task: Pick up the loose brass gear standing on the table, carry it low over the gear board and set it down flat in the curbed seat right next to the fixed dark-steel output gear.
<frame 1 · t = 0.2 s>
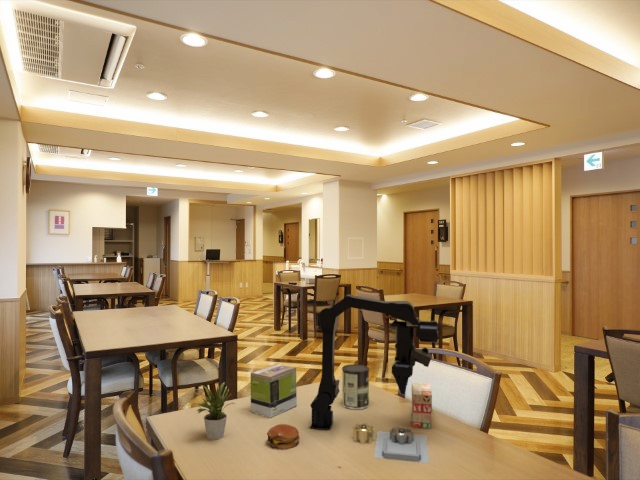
hand: (404, 389, 141), 14 cm above the table, fingers open, 9 cm apart
gear board: (401, 449, 129), on the table
brass gear: (363, 442, 134), on the table
house plant: (214, 435, 139), on the table
stack of blocks: (420, 419, 153), on the table
tea box: (273, 409, 161), on the table
coffee can: (355, 405, 166), on the table
output gear: (401, 439, 133), resting on gear board
burger: (283, 443, 133), on the table
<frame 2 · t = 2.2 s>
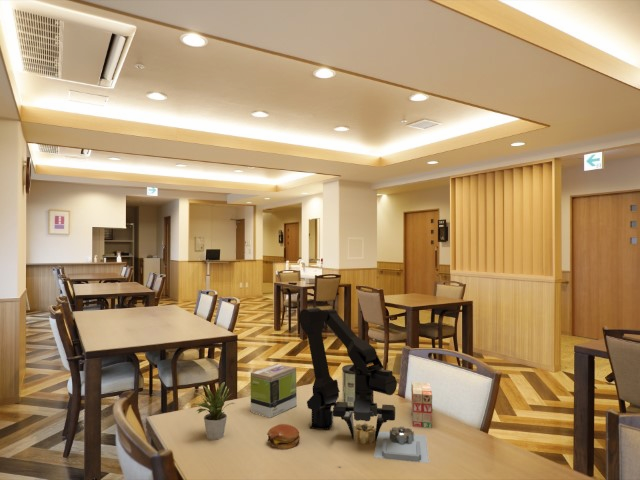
hand: (364, 439, 133), 1 cm above the table, fingers closed on brass gear, 7 cm apart
brass gear: (364, 442, 133), on the table, touching gripper
everything else where it was.
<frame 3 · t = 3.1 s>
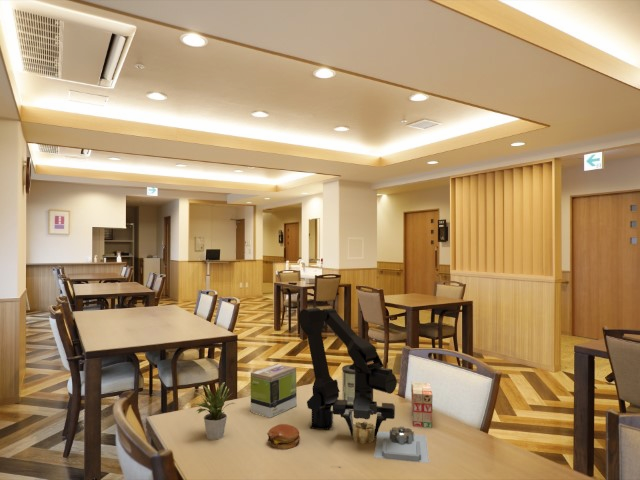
hand: (363, 436, 134), 2 cm above the table, fingers closed on brass gear, 7 cm apart
brass gear: (363, 440, 134), point 1 cm above the table, touching gripper
everything else where it was.
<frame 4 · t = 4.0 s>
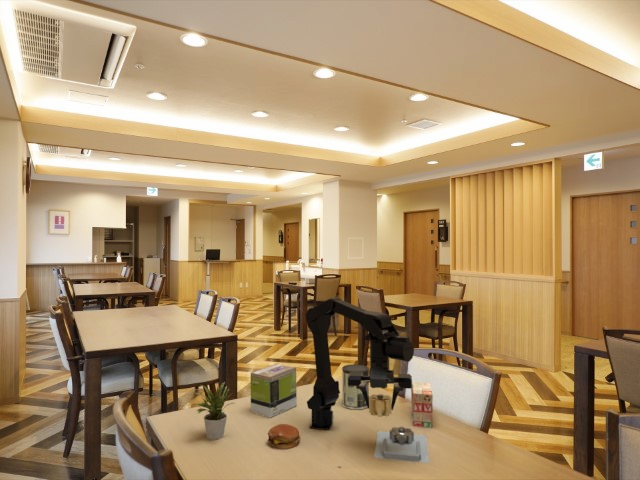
hand: (380, 408, 130), 12 cm above the table, fingers closed on brass gear, 7 cm apart
brass gear: (380, 412, 130), point 11 cm above the table, touching gripper
everything else where it was.
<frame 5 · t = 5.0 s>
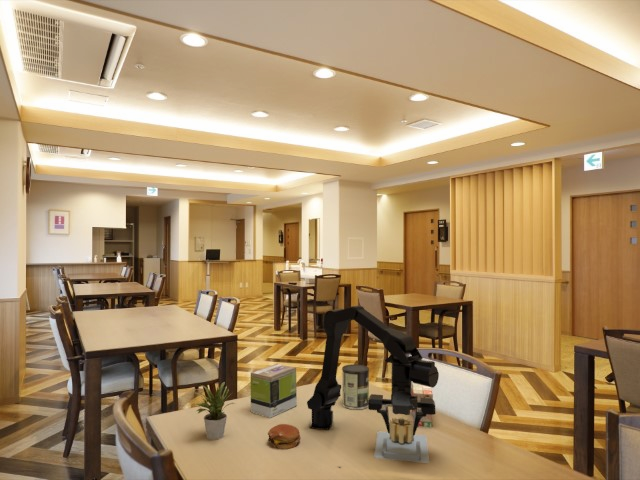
hand: (401, 434, 126), 6 cm above the table, fingers closed on brass gear, 7 cm apart
brass gear: (401, 437, 126), point 5 cm above the table, touching gripper
everything else where it was.
when the fingers open (4 cm above the table, at t = 5.9 s): brass gear drops 1 cm, resting on gear board.
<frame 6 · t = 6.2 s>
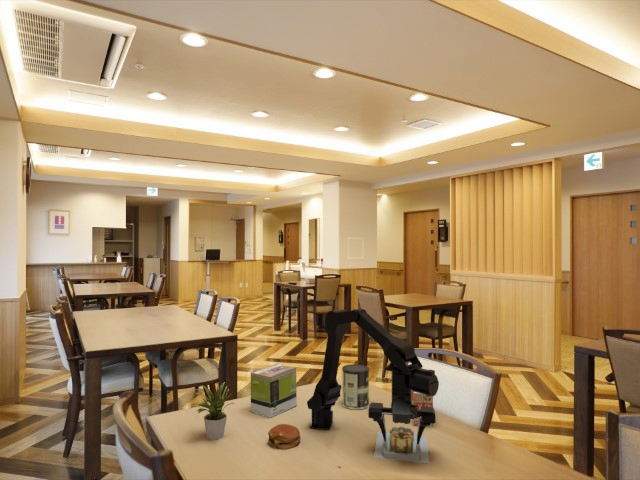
hand: (401, 442, 126), 4 cm above the table, fingers open, 9 cm apart
brass gear: (401, 451, 126), point 1 cm above the table, touching gear board
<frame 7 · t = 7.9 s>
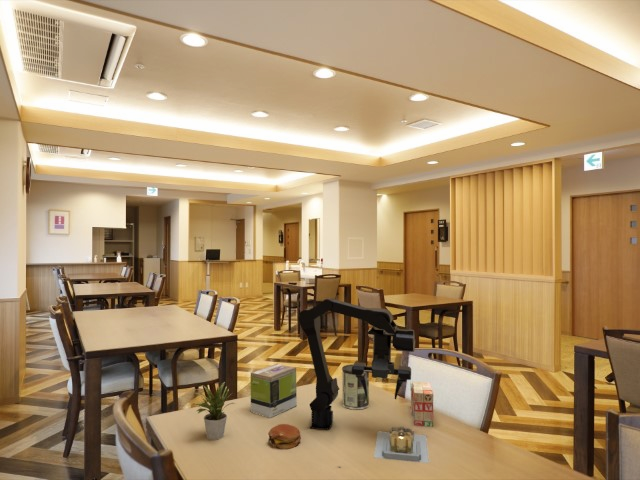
hand: (380, 397, 140), 12 cm above the table, fingers open, 9 cm apart
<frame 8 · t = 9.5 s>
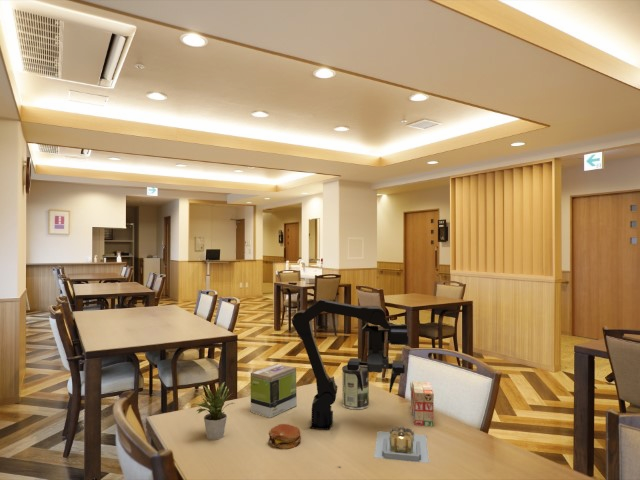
hand: (376, 391, 145), 12 cm above the table, fingers open, 9 cm apart
at the end: brass gear 0.1 cm from the target spot on the gear board, point 1.2 cm above the gear board's base; brass gear tilted 0°; brass gear 7.9 cm from the output gear (horizontally) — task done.
